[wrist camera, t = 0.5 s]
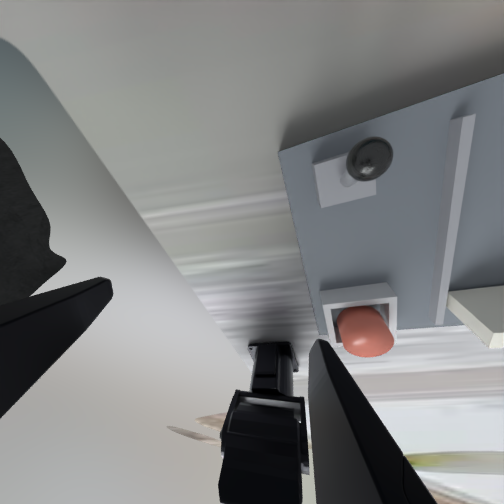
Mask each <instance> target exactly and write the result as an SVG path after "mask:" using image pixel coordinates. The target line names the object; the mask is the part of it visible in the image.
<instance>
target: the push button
mask: <svg viewBox="0 0 504 504" xmlns="http://www.w3.org/2000/svg"><path fill="white" fill-rule="evenodd" d="M337 325H338V329H339V332H340V336H341V339H342V343H343V346H344V348H345V349H346V350H347V351H348V352H349V353H351V354H353V355H356V356H359V357H375V356H379V355H382V354H384V353H386V352H388V351H389V350H390V349H391V348H392V347H393V345H394V337H393V335H392V333H391V332H390V330H389V328H388V326H387V325H386V323H385V321H384V319H383V318H382V316H381V314H380V313H379V311H377V310H376V309H375V308H373V307H370V306H365V305H364V306H354V307H349V308H346V309H345V310H343V311H342V312H341V313H340V314H339V315H338V317H337Z"/></svg>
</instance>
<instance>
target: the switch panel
mask: <svg viewBox="0 0 504 504" xmlns="http://www.w3.org/2000/svg"><path fill="white" fill-rule="evenodd" d="M374 136H377V137H382V138H384V139H386V140H387V141H388V142H389V143H390V144H391V146H392V148H393V160H392V163H391V165H390V167H389V168H388V170H387V171H386V172H385V173H384V174H383V175H382V176H380V177H379V178H377V179H375V180H372V181H367V182H361V181H358V182H357V183H356V184H354V185H353V186H351V187H344V186H342V185H341V183H340V177H341V175H342V174H343V173H344V171H345V170H346V159H347V156H348V153H349V152H350V150H351V149H352V147H353V146H354V145H355V144H357V143H358V142H359V141H361V140H363V139H365V138H368V137H374ZM278 156H279V160H280V164H281V169H282V173H283V178H284V182H285V186H286V191H287V195H288V200H289V204H290V208H291V213H292V217H293V222H294V226H295V230H296V235H297V239H298V244H299V248H300V252H301V257H302V261H303V266H304V270H305V275H306V279H307V283H308V288H309V292H310V297H311V301H312V305H313V310H314V314H315V319H316V323H317V327H318V332H319V335H328V336H329V340H330V345H331V346H332V347H344V346H343V343H342V339H341V336H340V332H339V329H338V325H337V317H338V315H339V314H340V313H341V312H342V311H343V310H345V309H346V308H349V307H354V306H364V305H365V306H370V307H373V308H375V309H376V310H377V311H379V313H380V314H381V316H382V318H383V319H384V321H385V323H386V325H387V326H388V328H389V330H390V332H391V333H392V335H393V337H394V344H396V337H397V330H401V329H416V328H430V327H444V326H458V325H464V324H463V323H462V322H461V321H460V320H459V319H458V318H457V317H456V316H455V315H454V314H453V313H452V312H451V311H450V310H449V309H448V308H447V307H446V302H447V296H448V292H449V291H458V290H467V289H476V288H485V287H494V286H503V285H504V73H503V74H500V75H497V76H495V77H492V78H489V79H486V80H483V81H480V82H477V83H475V84H472V85H469V86H466V87H463V88H460V89H457V90H454V91H452V92H449V93H446V94H443V95H440V96H437V97H434V98H431V99H429V100H426V101H423V102H420V103H417V104H414V105H411V106H408V107H406V108H403V109H400V110H397V111H394V112H391V113H388V114H386V115H383V116H380V117H377V118H374V119H371V120H368V121H365V122H363V123H360V124H357V125H354V126H351V127H348V128H345V129H342V130H340V131H337V132H334V133H331V134H328V135H325V136H322V137H319V138H317V139H314V140H311V141H308V142H305V143H302V144H299V145H297V146H294V147H291V148H288V149H285V150H282V151H279V152H278Z"/></svg>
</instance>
